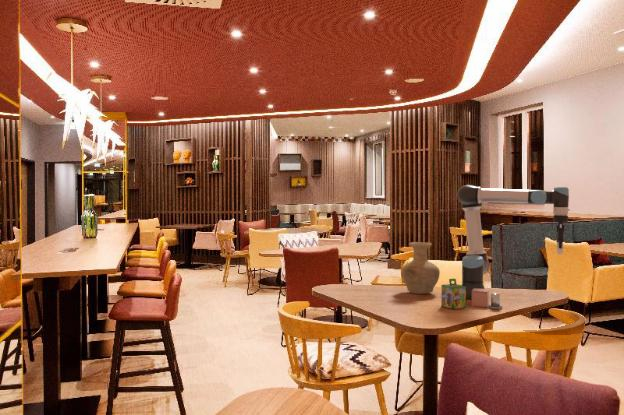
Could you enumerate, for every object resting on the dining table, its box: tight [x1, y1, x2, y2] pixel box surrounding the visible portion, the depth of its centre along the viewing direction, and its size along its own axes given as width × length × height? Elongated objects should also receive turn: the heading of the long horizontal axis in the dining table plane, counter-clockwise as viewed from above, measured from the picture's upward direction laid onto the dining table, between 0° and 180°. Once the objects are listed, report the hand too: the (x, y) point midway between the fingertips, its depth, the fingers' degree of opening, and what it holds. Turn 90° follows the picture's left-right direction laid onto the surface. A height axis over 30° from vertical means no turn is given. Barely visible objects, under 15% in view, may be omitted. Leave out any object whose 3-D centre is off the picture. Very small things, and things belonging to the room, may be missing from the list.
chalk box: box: [440, 278, 467, 310], centre depth 276 cm, size 9×9×15 cm
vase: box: [400, 241, 441, 295], centre depth 315 cm, size 22×22×30 cm
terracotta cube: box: [471, 288, 490, 308], centre depth 282 cm, size 8×8×8 cm
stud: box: [487, 292, 503, 311], centre depth 274 cm, size 7×7×8 cm
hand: (559, 253), depth 294 cm, fingers open, 13 cm apart
